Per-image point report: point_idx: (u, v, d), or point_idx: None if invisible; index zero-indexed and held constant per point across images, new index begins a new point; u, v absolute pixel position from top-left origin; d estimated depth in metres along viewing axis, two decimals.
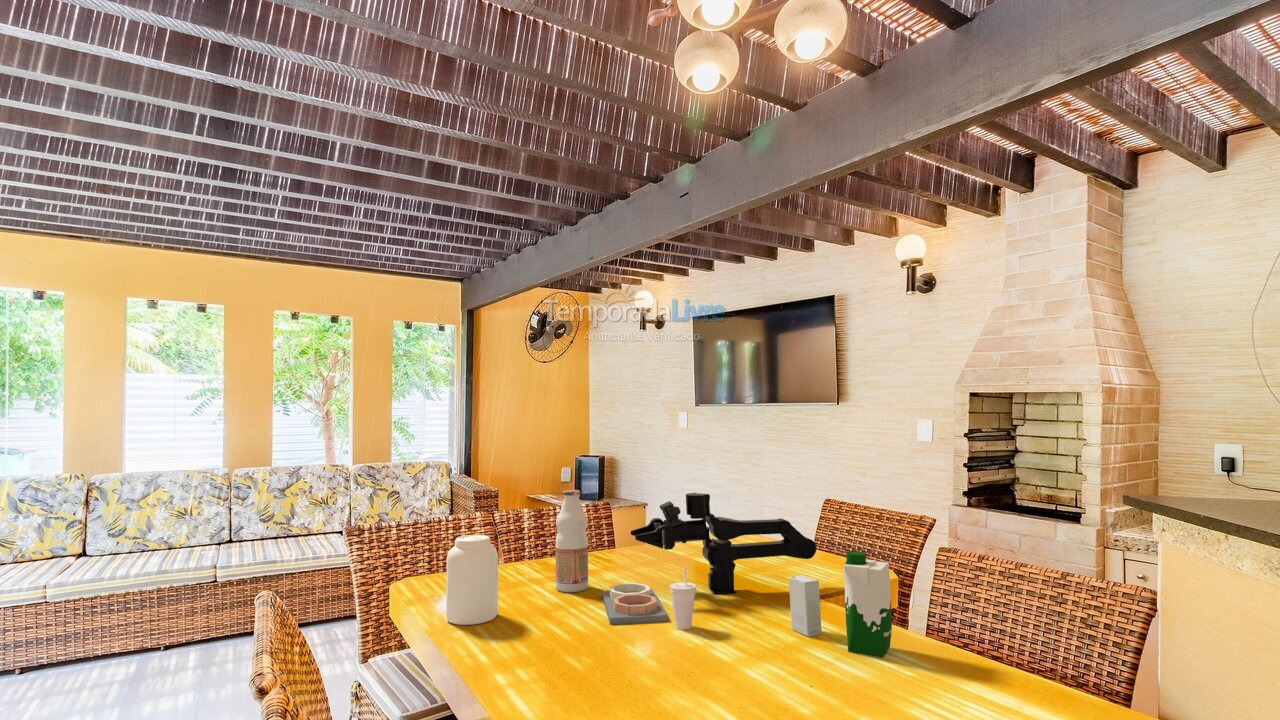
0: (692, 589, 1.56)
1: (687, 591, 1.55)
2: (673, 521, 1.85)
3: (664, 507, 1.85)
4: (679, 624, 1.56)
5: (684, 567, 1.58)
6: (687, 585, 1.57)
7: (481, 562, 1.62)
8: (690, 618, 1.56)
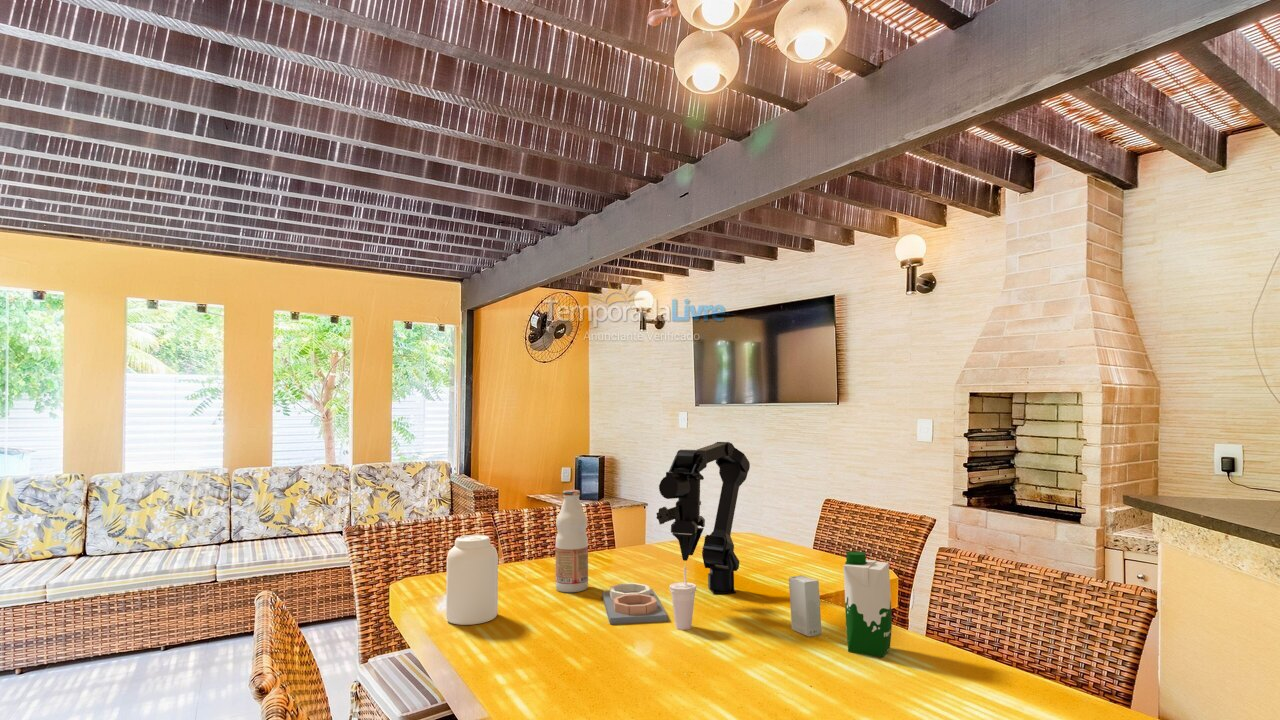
0: (692, 589, 1.56)
1: (687, 591, 1.55)
2: (674, 514, 1.74)
3: (660, 522, 1.75)
4: (679, 624, 1.55)
5: (684, 567, 1.58)
6: (687, 585, 1.57)
7: (481, 562, 1.62)
8: (690, 618, 1.56)
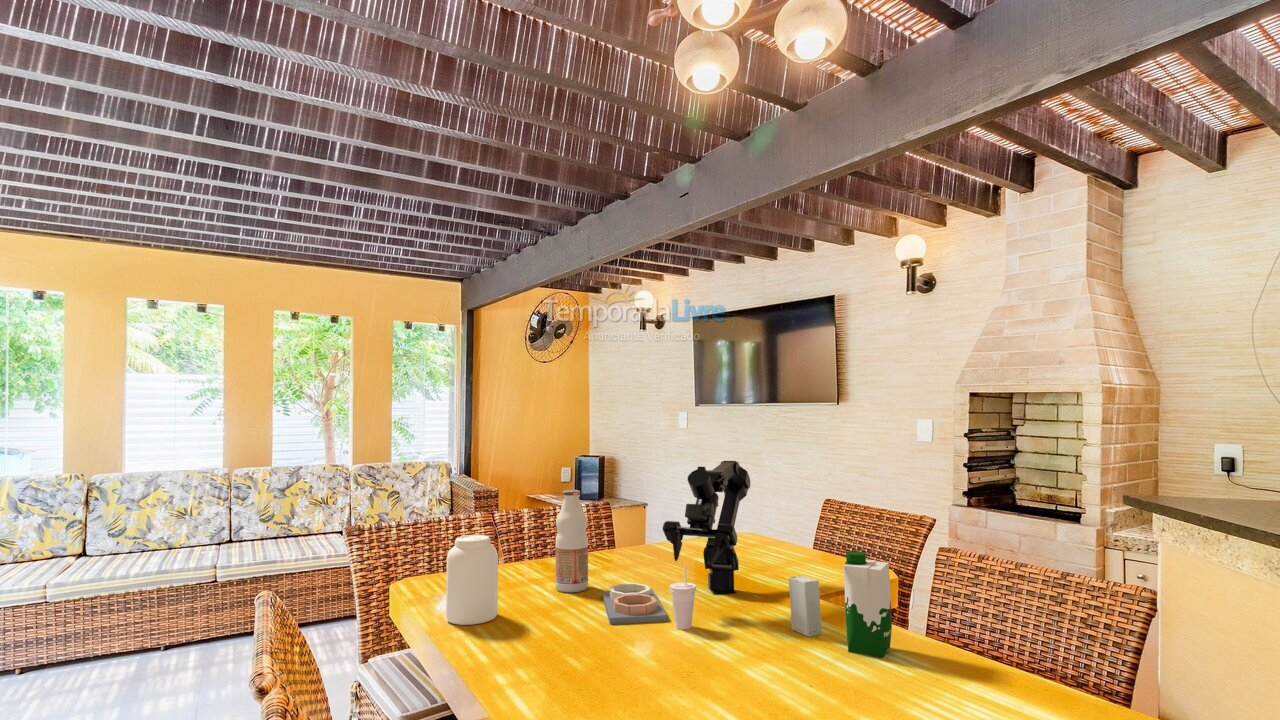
0: (692, 589, 1.56)
1: (687, 591, 1.55)
2: (709, 517, 1.70)
3: (701, 514, 1.67)
4: (679, 624, 1.55)
5: (684, 567, 1.58)
6: (687, 585, 1.57)
7: (481, 562, 1.62)
8: (690, 618, 1.56)
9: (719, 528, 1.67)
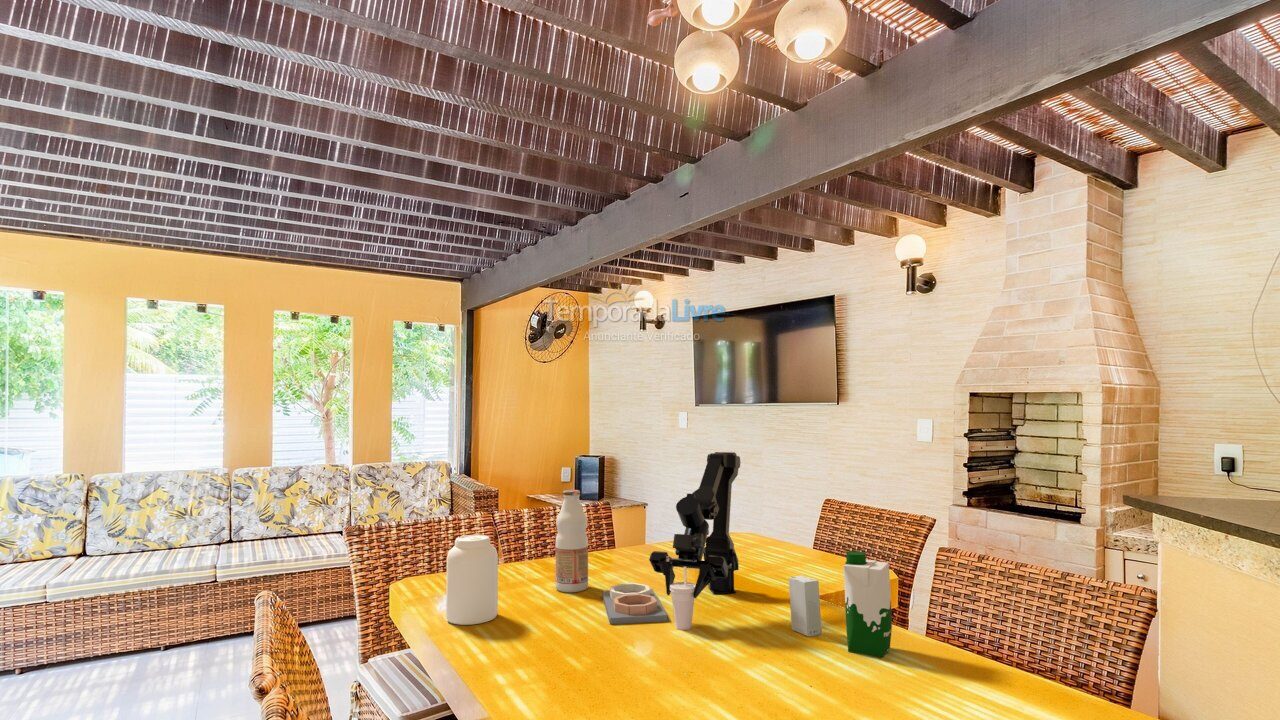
0: (692, 589, 1.56)
1: (687, 591, 1.55)
2: (698, 547, 1.61)
3: (690, 545, 1.57)
4: (679, 624, 1.55)
5: (684, 567, 1.58)
6: (687, 585, 1.57)
7: (481, 562, 1.62)
8: (690, 618, 1.56)
9: (709, 560, 1.58)
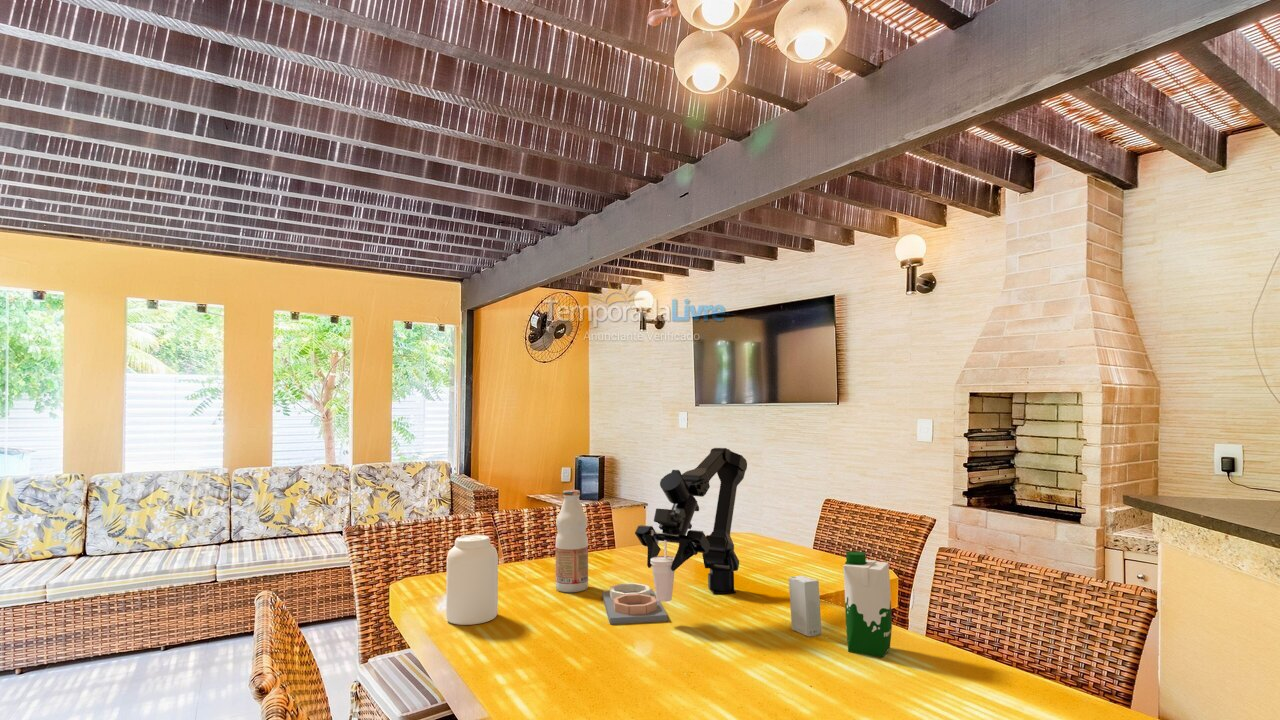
0: (670, 562, 1.59)
1: (665, 564, 1.58)
2: (680, 522, 1.64)
3: (669, 520, 1.61)
4: (658, 596, 1.59)
5: (664, 541, 1.61)
6: (667, 558, 1.61)
7: (481, 562, 1.62)
8: (669, 590, 1.59)
9: (688, 534, 1.60)
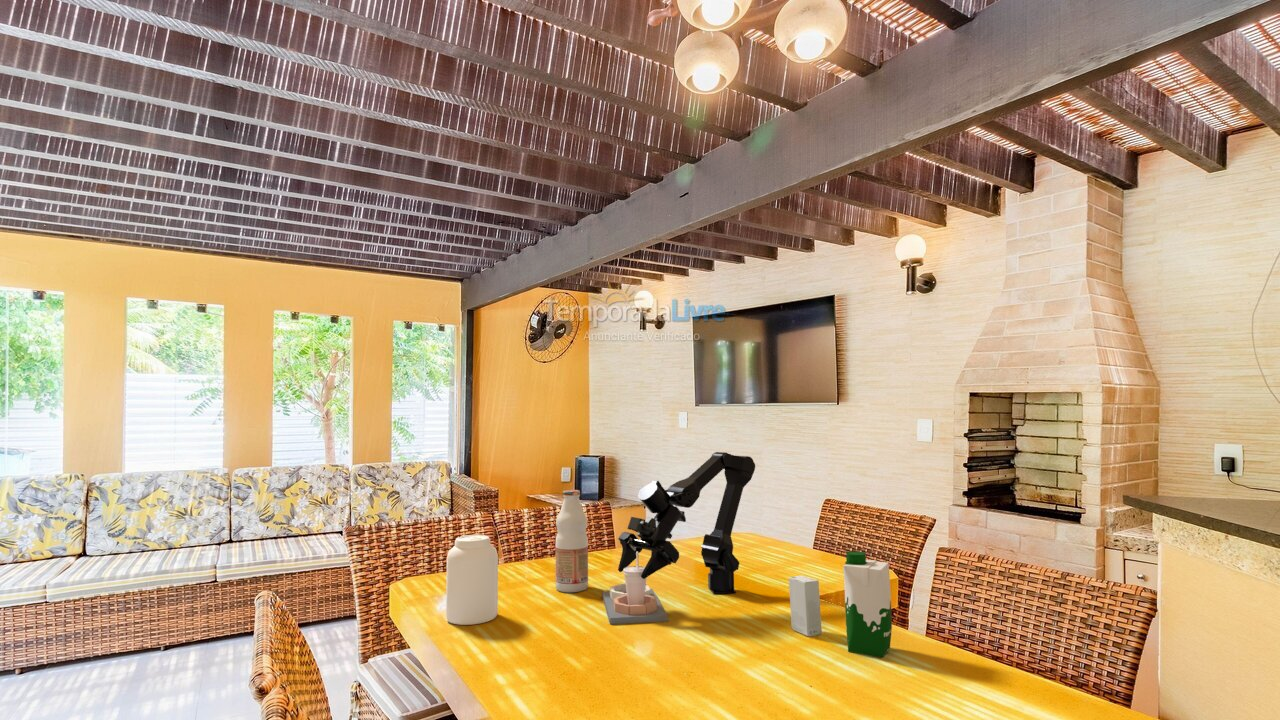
0: (638, 573, 1.65)
1: (633, 574, 1.65)
2: (653, 531, 1.70)
3: (639, 528, 1.67)
4: (629, 604, 1.67)
5: (636, 552, 1.68)
6: (638, 569, 1.68)
7: (481, 562, 1.62)
8: (638, 600, 1.66)
9: (656, 544, 1.66)
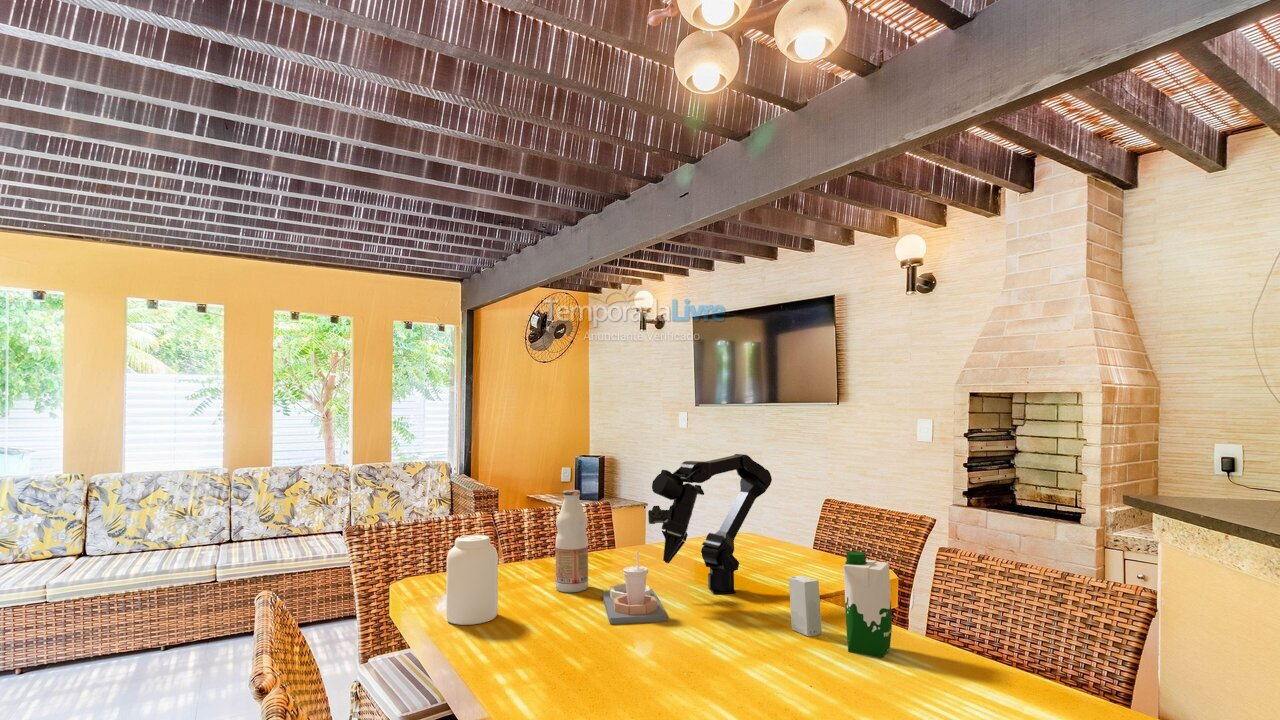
0: (638, 573, 1.65)
1: (633, 574, 1.65)
2: (666, 516, 1.79)
3: (649, 520, 1.79)
4: (629, 604, 1.67)
5: (636, 552, 1.68)
6: (638, 569, 1.68)
7: (481, 562, 1.62)
8: (638, 600, 1.66)
9: None
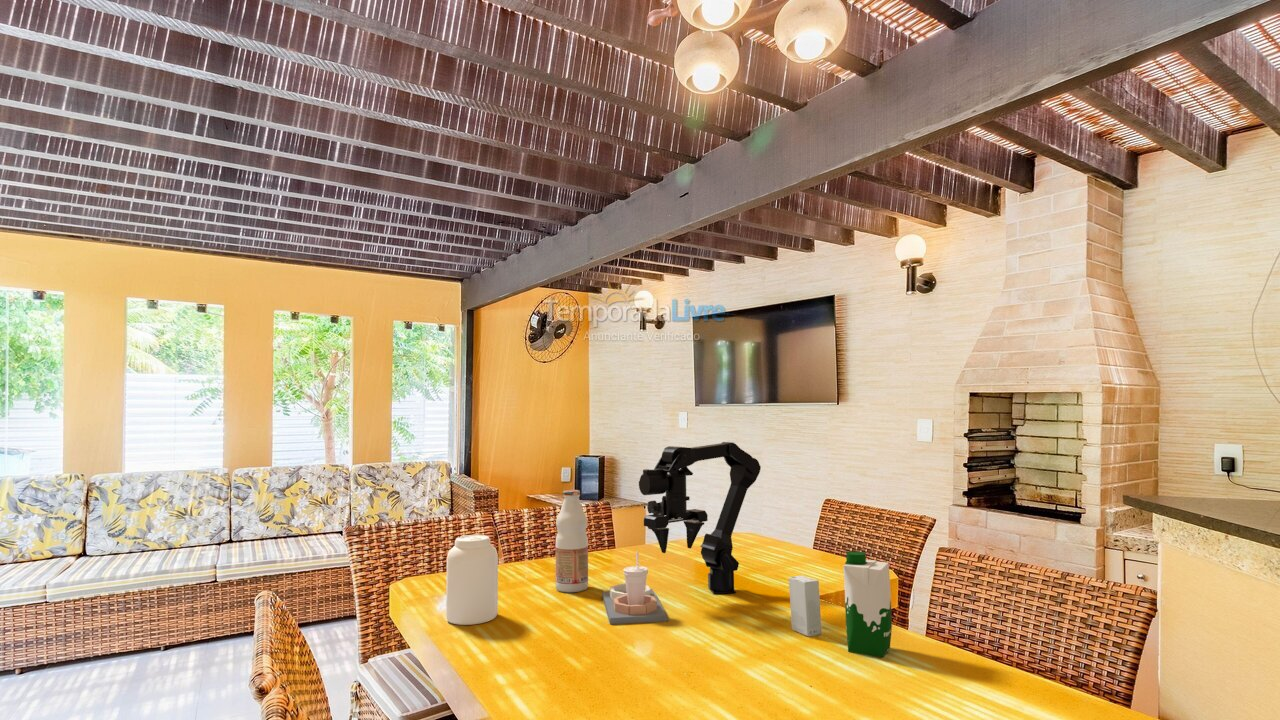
0: (638, 573, 1.65)
1: (633, 574, 1.65)
2: (660, 508, 1.83)
3: (653, 514, 1.86)
4: (629, 604, 1.67)
5: (636, 552, 1.68)
6: (638, 569, 1.68)
7: (481, 562, 1.62)
8: (638, 600, 1.66)
9: None
